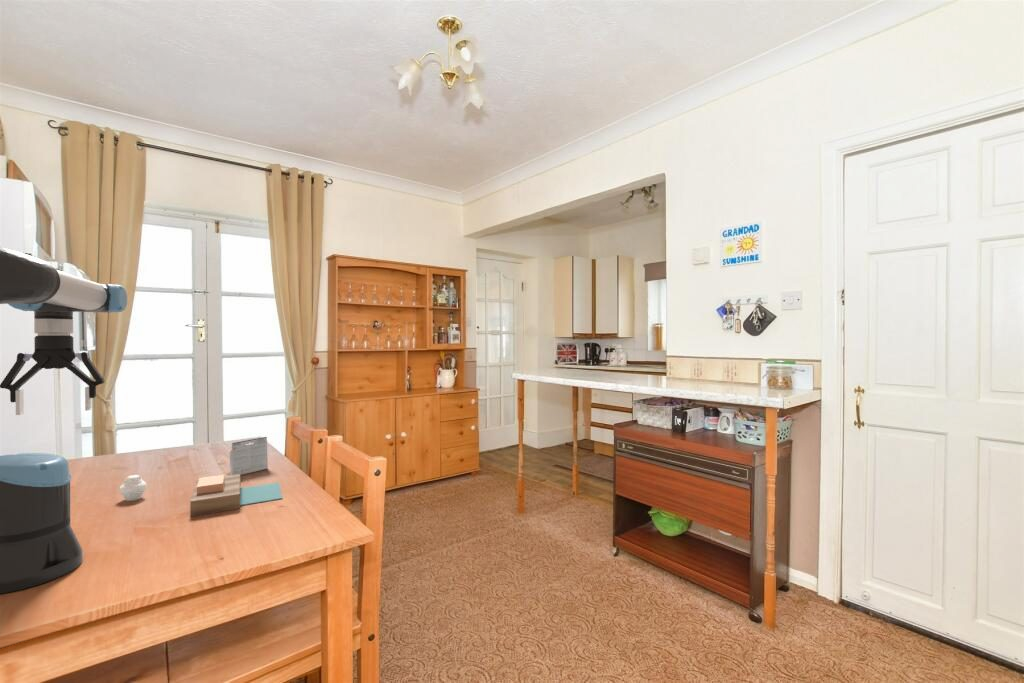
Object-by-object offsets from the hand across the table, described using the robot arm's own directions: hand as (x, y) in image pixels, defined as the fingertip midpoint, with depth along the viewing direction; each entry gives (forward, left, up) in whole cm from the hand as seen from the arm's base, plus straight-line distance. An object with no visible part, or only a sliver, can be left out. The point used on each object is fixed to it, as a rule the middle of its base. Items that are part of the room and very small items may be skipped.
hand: (55, 412), depth 124 cm
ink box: (+9, -46, -26) cm, 54 cm away
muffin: (-3, -17, -26) cm, 32 cm away
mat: (-17, -49, -26) cm, 58 cm away
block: (-17, -37, -22) cm, 46 cm away
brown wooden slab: (-17, -38, -26) cm, 49 cm away
